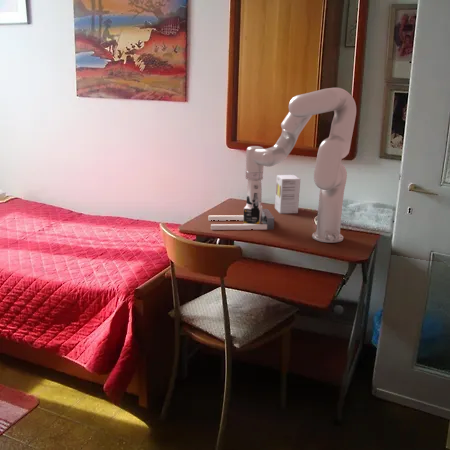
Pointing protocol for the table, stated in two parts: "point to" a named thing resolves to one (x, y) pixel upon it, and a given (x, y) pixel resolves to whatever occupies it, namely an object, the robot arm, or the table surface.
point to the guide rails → (233, 226)
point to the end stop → (267, 218)
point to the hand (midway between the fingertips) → (252, 213)
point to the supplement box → (287, 194)
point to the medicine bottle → (247, 213)
